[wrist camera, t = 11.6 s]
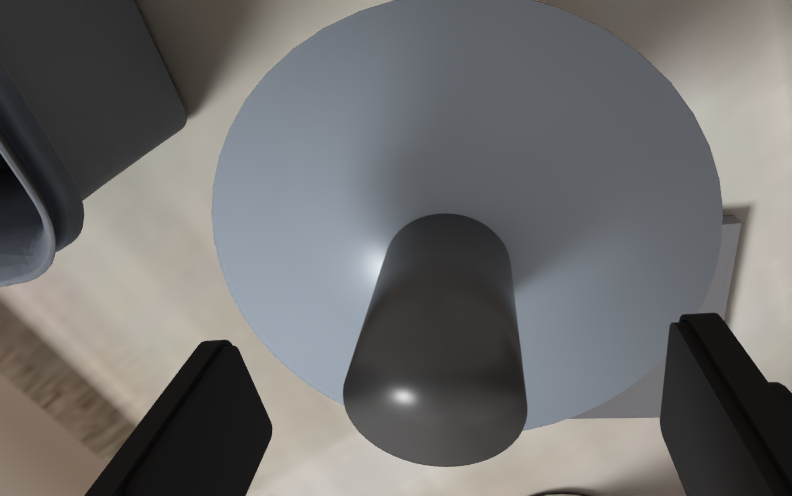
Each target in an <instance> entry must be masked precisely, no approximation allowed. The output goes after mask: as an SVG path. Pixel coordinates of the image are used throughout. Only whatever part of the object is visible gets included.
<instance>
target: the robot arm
mask: <svg viewBox="0 0 792 496" xmlns="http://www.w3.org/2000/svg"><path fill="white" fill-rule="evenodd" d="M660 426H661V431H662V435H663V438H664V441H665V443H666V446H667V448H668V451H669V453H670V455H671V458H672V460H673V463H674V465H675V468H676V470H677V473H678V475H679V478H680V480H681V483H682V485H683V487H684V490H685V492H686V495H687V496H792V393H791V392H790V391H789V390H788V389H787V388H786V387H785V386H784V385H782V384H780V383H779V382H768V381H767V380H766V379H765V377H764V376H763V374H762V373H761V372H760V370H759V369H758V368H757V366H756V365H755V363H754V362H753V361H752V359H751V358H750V356H749V355H748V354H747V352H746V351H745V350H744V348H743V347H742V345H741V344H740V343H739V341H738V340H737V338H736V337H735V336H734V334H733V333H732V332H731V330H730V329H729V327H728V326H727V325H726V323H725V322H724V320H723V319H722V318H721V317H720V315H719V314H717V313H697V314H683V315H681V317H680V319H679V322H673V323H671V324H670V327H669V335H668V345H667V355H666V364H665V374H664V384H663V394H662V403H661V413H660ZM271 436H272V424H271V421H270V419H269V417H268V414H267V412H266V410H265V408H264V405H263V403H262V401H261V399H260V396H259V394H258V392H257V390H256V387H255V385H254V383H253V381H252V379H251V376H250V374H249V372H248V370H247V367H246V365H245V363H244V361H243V358H242V356H241V354H240V352H239V350H238V348H237V347H236V346H233V345H232V344H231V342H229V341H228V340H214V341H204V342H201V343H200V344H199V345H198V347H197V348H196V349H195V351H194V352H193V353H192V355H191V356H190V357H189V358H188V360H187V361H186V362H185V364H184V365H183V366H182V368H181V369H180V370H179V372H178V373H177V374H176V376H175V377H174V378H173V380H172V381H171V382H170V384H169V385H168V386H167V387H166V389H165V390H164V391H163V393H162V394H161V395H160V397H159V398H158V399H157V401H156V402H155V403H154V405H153V406H152V407H151V409H150V410H149V411H148V413H147V414H146V415H145V416H144V418H143V419H142V420H141V422H140V423H139V424H138V426H137V427H136V428H135V430H134V431H133V432H132V434H131V435H130V436H129V438H128V439H127V440H126V442H125V443H124V444H123V445H122V447H121V448H120V449H119V451H118V452H117V453H116V455H115V456H114V457H113V459H112V460H111V461H110V463H109V464H108V465H107V467H106V468H105V469H104V471H103V472H102V473H101V474H100V476H99V477H98V478H97V480H96V481H95V482H94V484H93V485H92V486H91V488H90V489H89V490H88V492H87V493H86V494H85V496H246V493H247V491H248V489H249V487H250V484H251V482H252V480H253V478H254V476H255V473H256V471H257V469H258V467H259V464H260V462H261V460H262V458H263V455H264V453H265V451H266V449H267V446H268V444H269V442H270V440H271ZM544 496H580V495H573V494H552V495H544Z"/></svg>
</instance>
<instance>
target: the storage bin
mask: <svg viewBox="0 0 792 496" xmlns="http://www.w3.org/2000/svg"><path fill="white" fill-rule="evenodd" d="M186 121H187V114H186V111H185V108H184V106H183V103H182V101H181V99H180V97H179V95H178V93H177V91H176V88H175V86H174V84H173V82H172V80H171V78H170V76H169V74H168V71H167V69H166V67H165V65H164V63H163V61H162V59H161V57H160V55H159V52H158V50H157V48H156V46H155V44H154V42H153V40H152V37H151V35H150V33H149V31H148V29H147V27H146V25H145V23H144V20H143V18H142V16H141V14H140V12H139V10H138V8H137V5H136V3H135V1H134V0H0V287H3V286H8V285H13V284H19V283H24V282H28V281H31V280H33V279H36V278H38V277H39V276H40V275H42V274H43V273H45V272H46V271H47V269H48V268H49V267H50V265H51V264H52V263H53V260H54V257H55V252H57V251H59V250H61V249H63V248H64V247H66V246H67V245H69V244H71V243H72V242H73V241H74V240H75V239H76V238H77V237H78V236H79V234H80V233H81V230H82V228H83V220H84V208H83V203H82V201H83V200H84V199H86V198H87V197H88V196H90V195H91V194H92V193H93V192H95V191H96V190H97V189H99V188H100V187H101V186H103V185H104V184H105V183H107V182H108V181H110V180H111V179H112V178H114V177H115V176H117V175H118V174H119V173H121V172H122V171H124V170H125V169H126V168H128V167H129V166H130V165H132V164H133V163H134V162H136V161H137V160H139V159H140V158H141V157H143V156H144V155H146V154H147V153H148V152H150V151H151V150H153V149H154V148H155V147H157V146H158V145H160V144H161V143H163V142H164V141H165V140H167V139H168V138H170V137H171V136H173V135H174V134H175V133H177V132H178V131H180V130H181V129H182V128H183V127H184V126H185V124H186Z"/></svg>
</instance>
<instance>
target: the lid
mask: <svg viewBox="0 0 792 496" xmlns="http://www.w3.org/2000/svg"><path fill="white" fill-rule="evenodd" d="M212 221H213V233H214V242H215V246H216V250H217V255H218V259H219V263H220V267H221V270H222V272H223V275H224V278H225V280H226V283H227V286H228V289H229V291H230V293H231V295H232V297H233V299H234V301H235V302H236V304H237V306H238V308H239V310H240V312H241V314H242V315H243V317H244V318H245V320H246V321H247V323H248V324H249V326H250V327H251V328H252V330H253V331H254V333H255V334H256V335H257V337H258V338H259V339H260V340H261V341H262V342H263V344H264V345H265V346H266V347H267V348H268V349H269V351H270V352H271V353H272V354H273V355H274V356H275V357H276V358H277V359H278V360H280V361H281V362H282V363H283V364H284V365H285V366H286V367H287V368H288V369H289V370H290V371H292V372H293V373H294V374H295V375H297V376H298V377H299V378H301V379H302V380H303V381H304V382H306V383H307V384H308V385H310V386H311V387H313V388H314V389H316V390H318V391H319V392H321V393H322V394H324V395H326V396H327V397H329V398H330V399H332V400H334V401H336V402H338V403H340V404H342V405H344V406H345V409H346V412H347V414H348V416H349V418H350V420H351V421H352V423H353V425H354V426H355V427H356V428H357V430H358V431H359V432H360V433H361V434H362V435H363V436H364V437H365V438H366V439H367V440H369V441H370V442H371V443H372V444H374V445H375V446H377V447H378V448H380V449H382V450H383V451H385V452H387V453H389V454H391V455H393V456H396V457H398V458H401V459H403V460H407V461H410V462H413V463H418V464H422V465H429V466H439V467H454V466H464V465H470V464H474V463H479V462H482V461H484V460H487V459H490V458H492V457H494V456H496V455H498V454H500V453H501V452H503V451H504V450H506V449H507V448H508V447H509V446H511V445H512V444H513V443H514V441H515V440H516V439H517V438H518V437H519V435H520V434H521V432H522V431H524V430H529V429H533V428H538V427H542V426H546V425H550V424H554V423H557V422H560V421H562V420H565V419H568V418H571V417H574V416H577V415H580V414H582V413H584V412H586V411H588V410H590V409H592V408H595V407H597V406H599V405H601V404H603V403H605V402H607V401H608V400H610V399H612V398H613V397H615V396H617V395H618V394H620V393H622V392H623V391H625V390H627V389H628V388H629V387H631V386H632V385H633V384H635V383H636V382H637V381H638V380H640V379H641V378H642V377H644V376H645V375H646V374H648V373H649V372H650V371H651V370H652V369H653V368H654V367H655V366H656V365H657V364H658V363H659V362H660V361H661V360H662V359H663V358H664V357H665V356H666V355H667V345H668V335H669V327H670V324H671V323H673V322H679V319H680V317H681V315H683V314H697V313H698V311H699V310H700V308H701V306H702V304H703V302H704V300H705V297H706V295H707V292H708V290H709V287H710V285H711V282H712V280H713V277H714V274H715V270H716V266H717V261H718V257H719V252H720V248H721V239H722V223H723V208H722V199H721V190H720V181H719V177H718V173H717V170H716V167H715V163H714V160H713V156H712V153H711V149H710V146H709V144H708V142H707V140H706V138H705V136H704V134H703V132H702V130H701V128H700V126H699V124H698V122H697V120H696V118H695V116H694V114H693V112H692V111H691V110H690V108H689V107H688V105H687V104H686V103H685V101H684V100H683V99H682V97H681V96H680V94H679V93H678V92H677V90H676V89H675V88H674V86H673V85H672V84H671V82H670V81H669V80H668V79H667V78H666V77H665V76H664V75H662V74H661V73H660V72H659V71H658V70H657V69H656V68H655V67H654V66H653V65H652V64H651V63H650V62H649V61H648V60H647V59H646V58H645V57H644V56H643V55H642V54H640V53H639V52H638V51H636V50H635V49H633V48H632V47H630V46H629V45H628V44H626V43H625V42H623V41H622V40H620V39H619V38H618V37H616V36H615V35H613V34H612V33H610V32H609V31H607V30H605V29H603V28H601V27H599V26H597V25H595V24H593V23H591V22H589V21H587V20H585V19H583V18H580V17H578V16H576V15H574V14H572V13H570V12H568V11H565V10H563V9H560V8H557V7H554V6H550V5H547V4H544V3H541V2H537V1H534V0H394V1H391V2H388V3H384V4H381V5H378V6H374V7H371V8H368V9H365V10H362V11H359V12H357V13H355V14H353V15H350V16H348V17H346V18H344V19H342V20H340V21H338V22H336V23H334V24H332V25H329V26H327V27H325V28H323V29H322V30H320V31H319V32H317V33H316V34H314V35H313V36H312V37H310V38H309V39H307V40H306V41H304V42H303V43H301V44H300V45H298V46H297V47H295V48H294V49H292V50H291V51H290V52H289V53H288V54H287V55H286V56H285V57H284V58H283V59H282V60H281V61H279V62H278V63H277V64H276V65H275V66H274V67H273V68H272V69H271V70H270V71H269V72H268V73H267V74H266V75H265V76H264V77H263V79H262V80H261V81H260V82H259V84H258V85H257V86H256V88H255V89H254V90H253V91H252V93H251V94H250V95H249V96H248V98H247V99H246V100H245V102H244V104H243V106H242V107H241V109H240V111H239V113H238V114H237V116H236V118H235V120H234V122H233V123H232V125H231V127H230V129H229V132H228V134H227V137H226V140H225V142H224V145H223V148H222V151H221V153H220V156H219V160H218V165H217V170H216V175H215V179H214V184H213V200H212Z"/></svg>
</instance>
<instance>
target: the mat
mask: <svg viewBox="0 0 792 496" xmlns="http://www.w3.org/2000/svg"><path fill="white" fill-rule="evenodd" d="M741 224H742V223H741V222H740V221H739V220H738V219H737V218H736V217H735V216H734V215H731V216H723V223H722V239H721V248H720V252H719V257H718V261H717V266H716V270H715V274H714V277H713V280H712V282H711V285H710V287H709V290H708V292H707V295H706V297H705V300H704V302H703V304H702V306H701V308H700V310H699V311H698V313H717V314H719V315H720V317H721V318H722V319H723V320H724V318H725V313H726V307H727V301H728V296H729V290H730V285H731V279H732V274H733V268H734V263H735V257H736V252H737V246H738V240H739V235H740V229H741ZM665 364H666V356H665V357H664V358H663V359H662V360H661V361H660V362H659V363H658V364H657V365H656V366H655V367H654V368H653V369H652V370H651V371H650V372H649V373H648V374H646V375H645V376H644V377H642V378H641V379H640V380H638V381H637V382H636V383H635V384H633V385H632V386H631V387H629V388H628V389H627V390H625V391H623V392H622V393H620V394H618V395H617V396H615V397H613V398H612V399H610V400H608V401H607V402H605V403H603V404H601V405H599V406H597V407H595V408H592V409H590V410H588V411H586V412H584V413H582V414H580V415H577V416H574V417H571V418H568V419H582V418H654V417H660V413H661V403H662V394H663V384H664V374H665Z"/></svg>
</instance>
